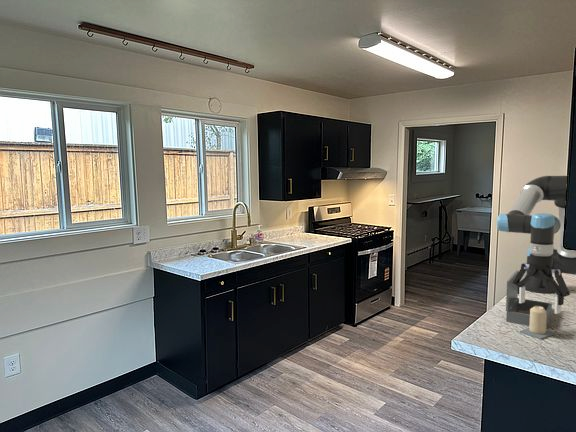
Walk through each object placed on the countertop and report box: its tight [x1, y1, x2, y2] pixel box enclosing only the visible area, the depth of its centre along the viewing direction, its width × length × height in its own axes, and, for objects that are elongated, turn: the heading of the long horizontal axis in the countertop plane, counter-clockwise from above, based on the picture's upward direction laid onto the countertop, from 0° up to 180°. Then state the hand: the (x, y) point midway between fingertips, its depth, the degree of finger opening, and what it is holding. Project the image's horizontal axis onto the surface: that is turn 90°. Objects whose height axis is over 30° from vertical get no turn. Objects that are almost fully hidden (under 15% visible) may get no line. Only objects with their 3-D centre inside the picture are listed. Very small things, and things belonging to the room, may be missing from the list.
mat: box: [519, 327, 556, 340], centre depth 157 cm, size 10×8×1 cm
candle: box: [528, 306, 547, 334], centre depth 157 cm, size 6×6×10 cm
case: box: [505, 270, 553, 327], centre depth 173 cm, size 23×14×18 cm, turn 141°
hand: (539, 307), depth 156 cm, fingers open, 13 cm apart
